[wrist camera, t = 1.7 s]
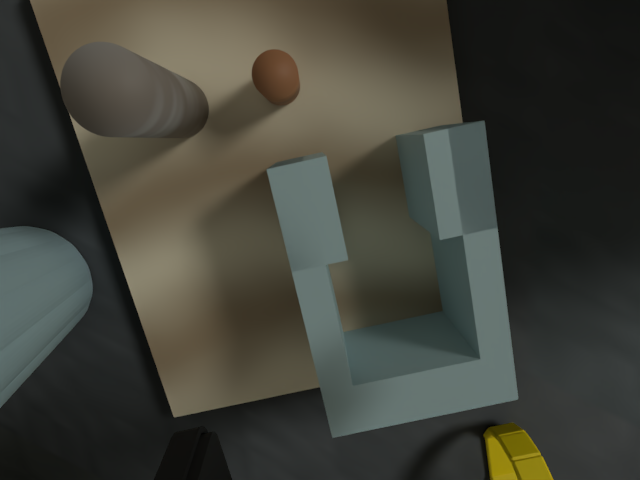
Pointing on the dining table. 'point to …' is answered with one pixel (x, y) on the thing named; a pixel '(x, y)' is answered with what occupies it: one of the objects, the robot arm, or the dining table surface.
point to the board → (251, 167)
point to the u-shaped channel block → (417, 332)
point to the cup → (37, 299)
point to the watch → (513, 455)
